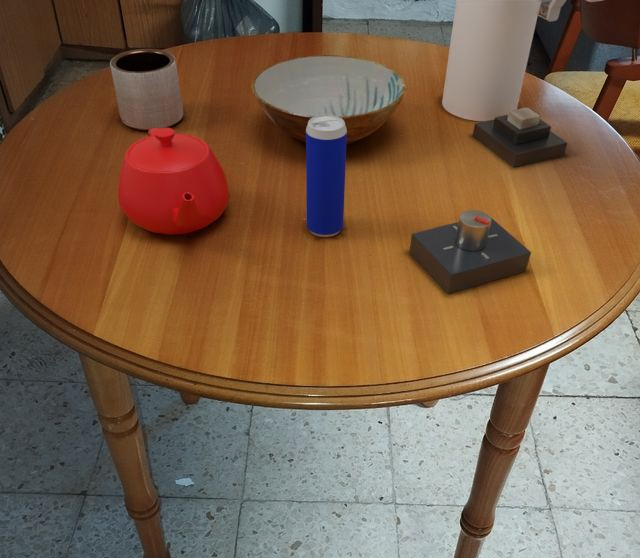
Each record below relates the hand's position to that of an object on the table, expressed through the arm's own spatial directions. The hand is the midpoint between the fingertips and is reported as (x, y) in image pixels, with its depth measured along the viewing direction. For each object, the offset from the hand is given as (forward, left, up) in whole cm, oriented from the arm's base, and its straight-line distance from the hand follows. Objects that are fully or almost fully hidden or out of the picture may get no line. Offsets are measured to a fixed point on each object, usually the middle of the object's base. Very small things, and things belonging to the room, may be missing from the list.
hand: (546, 18), depth 99 cm
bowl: (+27, -17, -19) cm, 37 cm away
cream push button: (0, 0, -16) cm, 16 cm away
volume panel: (+26, +25, -19) cm, 41 cm away
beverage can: (+40, +10, -19) cm, 46 cm away
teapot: (+58, -1, -19) cm, 61 cm away
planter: (+53, -34, -19) cm, 66 cm away
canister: (-3, -16, -19) cm, 25 cm away
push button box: (0, 0, -19) cm, 19 cm away
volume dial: (+26, +25, -16) cm, 39 cm away
